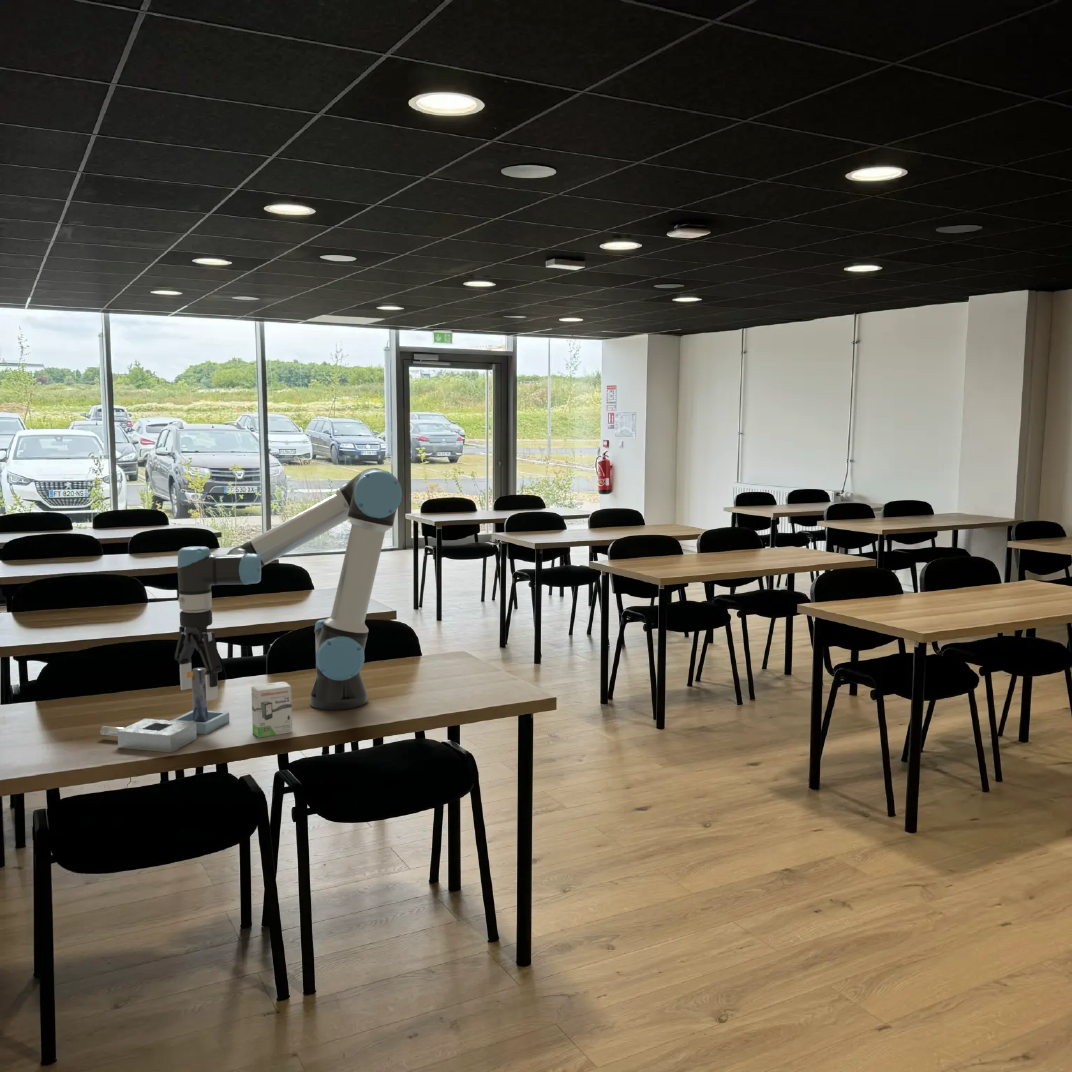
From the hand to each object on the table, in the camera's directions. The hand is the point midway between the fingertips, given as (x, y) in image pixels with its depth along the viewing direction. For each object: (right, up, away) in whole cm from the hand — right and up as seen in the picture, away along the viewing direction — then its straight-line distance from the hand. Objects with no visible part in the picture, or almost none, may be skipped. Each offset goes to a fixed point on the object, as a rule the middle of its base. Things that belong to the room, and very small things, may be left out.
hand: (199, 694), depth 237 cm
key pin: (0, -8, +1) cm, 8 cm away
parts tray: (0, -8, +1) cm, 8 cm away
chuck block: (-9, -9, -11) cm, 17 cm away
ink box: (+19, -9, -4) cm, 22 cm away
